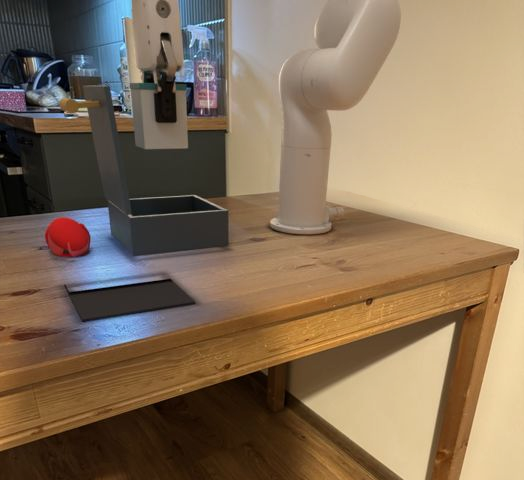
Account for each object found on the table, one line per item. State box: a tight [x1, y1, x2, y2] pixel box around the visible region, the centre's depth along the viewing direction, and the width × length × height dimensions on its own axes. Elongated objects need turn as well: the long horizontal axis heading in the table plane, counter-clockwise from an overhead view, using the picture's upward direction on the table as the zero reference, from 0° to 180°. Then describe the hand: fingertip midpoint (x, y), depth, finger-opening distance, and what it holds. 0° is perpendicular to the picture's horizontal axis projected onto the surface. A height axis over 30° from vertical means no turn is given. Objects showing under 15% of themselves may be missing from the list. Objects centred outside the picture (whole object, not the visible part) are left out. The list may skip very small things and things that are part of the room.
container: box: [128, 82, 189, 150], centre depth 78 cm, size 7×6×9 cm
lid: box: [58, 85, 132, 215], centre depth 76 cm, size 17×15×6 cm
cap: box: [44, 216, 91, 258], centre depth 79 cm, size 8×6×6 cm
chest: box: [106, 194, 229, 257], centre depth 87 cm, size 17×15×7 cm
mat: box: [63, 278, 196, 323], centre depth 66 cm, size 14×13×1 cm
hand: (160, 120), depth 78 cm, fingers closed on container, 5 cm apart
